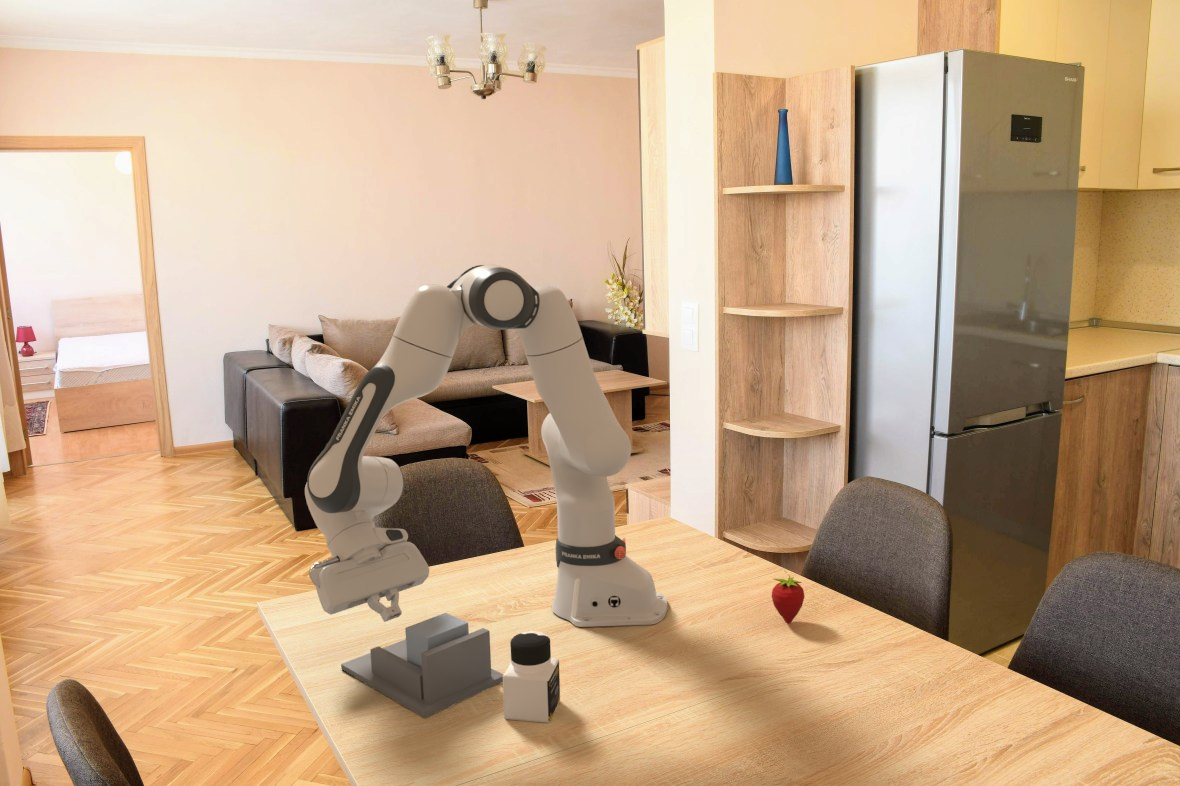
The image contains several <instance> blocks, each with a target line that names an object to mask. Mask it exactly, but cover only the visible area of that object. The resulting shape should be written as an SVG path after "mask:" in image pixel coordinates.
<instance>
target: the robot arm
mask: <svg viewBox="0 0 1180 786" xmlns="http://www.w3.org/2000/svg"><path fill="white" fill-rule="evenodd" d="M474 325H475V326H476V325H477V326H480V327H484V328H488V329H492V330H501V331H502V330H503V331H504V330H515V331H516V333H517V334H518V336H519V338H520V340H521V343H522V347H523V351H524V354H525V357H526V361H527V365H528V366H529V369H530V373H531V376H532V378H533V381H534V384H535V387H536V390H537V394H538V395H539V397H540V398H541V399H542V401H543V403H544V404H545V406H546V407H547V410H548V412H549V413H548V414H547V416H545V418H544V419H543V421H542V424H541V430H540V433H541V439H542V443H543V444H544V447H545V449H546V454H547V458H548V463H549V467H550V468H549V469H550V472H551V473H550V474H551V478H552V483H553V487H554V493H555V500H556V513H557V515H556V516H557V537H556V538H555V562H556V567H557V575H556V576H557V579H556V586H555V592H554V598H553V601H552V604H551V610H552V612H553V613H554V614H555V615H556V616H557V617H559V618H562V619H565V620H567V621H569V622H570V623H572V625H573V626H575V627H580V628H584V627H587V628H588V627H612V626H613V627H614V626H615V627H616V626H644V625H645V626H646V625H655V624H657V623H659V622H660V621H662V620H663V619H664V618H665V616H666V615H667V612H668V607H669V606H668V600H667V598H666V596H665V595H664V594H663V593H661V592H659V591H656V587H655V586H656V585H655V581H654V578H653V576H652V574H651V573H650V571H649V570H648V569H646V568H645V567H643V566H641V565H640V564H638V562H636V561H634V560H633V559H632V558H631V557H629V556H627V544H626V538H625V537H623V539H622V538H620V537H618V536H617V535H616V515H615V514H616V513H615V511H616V510H615V509H616V508H615V505H616V504H615V497H614V494H613V491H612V490H611V487H610V485H609V482H608V477H611V476H614V475H617V474H618V473H619V472H621V471H622V470H623V469H624V468H625V467H626V465H627V464H628V463H629V461H630V458H631V454H632V443H631V440H630V437H629V436H628V434H627V433H626V431H625V430H624V429H623V427H622V426H621V424H620V423H619V421H618V419H617V417H616V415H615V412H614V411H613V409H612V406H611V405H610V403H609V401H608V399H607V397H606V395H605V393H604V391H603V389H602V388H601V386H600V384H599V383H600V382H599V381H598V379H597V377H596V375H595V371H594V368H593V365H592V361H591V359H590V356H589V353H588V350H587V347H586V344H585V340H584V337H583V333H582V330H581V327H580V325H579V322H578V319H577V318H576V315H575V313H574V310H573V308H572V307H571V305H570V303H569V300H568V299H567V297H566V295H565V293H564V292H563V291H562V290H561V289H560V288H558V287H556V286H554V285H553V286H551V285H538V286H535V287H533V286H532V285H531V284H529V283H528V282H527V281H526V280H525V278H524V277H522V276H521V275H520V274H518V273H517V272H515V271H514V270H513V269H512V270H511V269H509V268H507V267H504V266H501V265H497V264H480V265H475V266H471V267H469V268H468V269H466V270H464V272H462V273H461V274H459V276H458V277H457V278H455V279H454V280H453V281H452V282H450V283H449V284H448V285H447V286H444V285H440V284H424V285H421V286H420V287H418V288H417V289H416V290H415V291H414V292H413V295H412V296H411V298H410V299H409V301H408V302H407V305H406V306H405V307H404V309H403V312H402V313H401V315H400V317H399V319H398V322H397V324H396V326H395V329H394V332H393V334H392V337H391V339H390V341H389V344H388V345H387V347H386V349H385V352H384V353H383V355H382V356H381V357H380V359H379V360H378V362H377V363H376V364H375V365H374V366H373V367H372V368H371V369H369V370H368V371H367V372H366V373H365V375H364V376H363V377H362V379H361V381H360V382H359V384H358V385H357V387H356V389H355V391H354V393H353V394H352V397H351V399H350V401H349V402H348V404H347V406H346V407H345V408H346V409H345V410H344V412H343V414H342V415H341V418H340V419H339V420H340V421H339V422H338V424H337V425H336V428H335V429H334V431H333V434H331V438H329V441H328V443H327V444H326V446H324V449H323V450H322V451H321V452H320V453H319V455H318V456H317V457H316V459H315V460H314V461H313V463H312V464H311V466H310V468H309V471H308V474H307V479H306V480H307V481H306V482H305V483H306V484H305V487H304V496H305V500H306V505H307V507H308V510H309V512H310V515H311V517H312V519H313V521H314V524H315V526H316V527H317V529H318V530H319V532H320V533H322V534H323V536H324V538H325V540H326V541H325V542H326V546H327V549H328V551H329V553H330V555H331V556H332V557H329V558H328V559H325V560H322V561H317V562H315V563H313V565H312V566H311V567H310V568H309V570H308V575H309V578H310V581H311V583H312V585H313V586H315V590H316V594H317V597H318V600H319V603H320V605H321V608H322V610H323V611H324V612H325V613H327V614H329V615H335V614H338V613H340V612H343V611H346V610H350V609H352V608H355V607H358V606H362V605H364V604H367V605H368V607H369V609H371V610H372V611H374V612H375V613H377V614H379V615H380V616H381V619H382V621H383V622H384V623H386V622H388V621H391V620H393V619H397V618H399V617H400V616H401V615H402V609H401V607H400V605H399V600H400V592H402V591H406V590H409V589H411V588H414V587H418V586H419V585H422V584H424V583H425V581H426V580H427V579H428V578H429V575H430V567H429V565H428V563H427V561H426V560H425V558H424V556H423V555H422V553H421V551H420V550H419V549H418V548H417V546H416V545H415V544H414V543H412V542H411V541H408V538H409V534H408V532H407V531H406V530H405V529H403V528H387V527H380V526H379V527H378V526H376V525H375V523H374V521H373V519H374V517H376V516H378V515H380V514H383V513H384V512H386V511H388V510H389V509H391V508H392V507H393V506H395V505H396V504H397V503H398V502H399V500H400V499H401V498H402V495H403V493H404V489H405V478H404V474H403V472H402V469H401V467H400V466H399V465H398V463H397V461H394V460H393V459H391V458H387V457H381V456H374V455H373V456H372V455H364V454H365V453H366V451H367V449H368V447H369V445H370V443H371V441H372V439H373V437H374V435H375V433H376V432H377V428H378V427H379V425H380V424H381V421H382V419H383V418H384V417H385V415H387V414H388V412H390V411H391V410H392V409H394V408H395V407H398V406H399V405H401V404H403V403H405V402H408V401H410V400H414V399H417V398H421V397H424V396H426V395H429V394H431V393H432V392H434V391H435V390H437V389H438V388H439V386H440V385H441V384H442V382H443V380H444V379H445V377H446V375H447V373H448V371H449V369H450V365H451V363H452V361H453V357H454V354H455V352H456V350H457V347H458V344H459V340H461V338H462V336H463V334H464V333H465V332H466V331H467V330H469V328H470V327H472V326H474ZM381 598H385V599H386V600H387V601H388V602H389V601H390V606H388V607H387V606H385V605H384V604H383V603H382V602H381V601H380V600H381Z"/></svg>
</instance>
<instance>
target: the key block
mask: <svg viewBox="0 0 1180 786" xmlns="http://www.w3.org/2000/svg"><path fill="white" fill-rule="evenodd" d="M467 634H470V633H469V622H468V621H466V620H463V619H462V618H458V617H457V616H454V615H452V614H449V613H448V612H444V613H442V614H438V615H436V616H433V617H431V618H429V619H425V620H423V621H419V622H418V623H415V624H411V625H409V626H407V627H405V639H406V647H407V661H408V662H410V663H412V664H414V665H415V666H417V667H419V668H421V669H422V658H421V653H422V652H425V651H427V650H430V649H432V648H435V647H437V646H440V645H442V644H445V643H447V642H450V641H452V640H455V639H457V638H460V637H462V636H465V635H467Z"/></svg>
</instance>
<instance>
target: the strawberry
mask: <svg viewBox="0 0 1180 786" xmlns="http://www.w3.org/2000/svg"><path fill="white" fill-rule="evenodd" d="M784 572H786V570H785V569H784ZM788 576H789V577H788V578H787V579H784V578H773V580H775V581H778V583H776V584H775V585H774V586H773V588H772V590H771V600H772V603H773V606H774V608H775V610H776V611H777V612H778V614H779V615H780V616H781V618H782V619H783V620H784V622H785V623H787V624H790V623H792V622H793V621H794V619H795V618H796V616H797V615H798V614H799V612H800V611H801V608H802V607H803V603H804V602H805V601H804V600H805V591H804V589H803V587H802V586H801V584H802V583H803V582H802V581H798V580H795V578H794V577H791V575H788Z"/></svg>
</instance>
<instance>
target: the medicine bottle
mask: <svg viewBox="0 0 1180 786" xmlns="http://www.w3.org/2000/svg"><path fill="white" fill-rule="evenodd" d="M509 644H510V664H509V665H508V666H507V669H506V670H505V672H504V675H503V682H502V691H503V692H502V694H503V695H502V696H503V715H504V719H505V720H509V721H512V720H513V721H520V722H522V721H524V722H533V723H534V722H535V723H543V724H544V723H545V724H546V723H547V724H548V723H550V722H551V721H552V718H553V716H554V714H555V712H556V710H557V707H558V706H559V703H560V701H561V685H560V660H559V659H558V658H557V657H556V658H555V657H552V656H551V655H552V653H551V639H550V637H549V636H548V635H547V634H546V633H544V632H541V631H535V630H533V631H532V630H530V631H529V630H528V631H523V632H520V633H518V634H516V635H514V636H513V637H512V638H511V640H510V643H509Z"/></svg>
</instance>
